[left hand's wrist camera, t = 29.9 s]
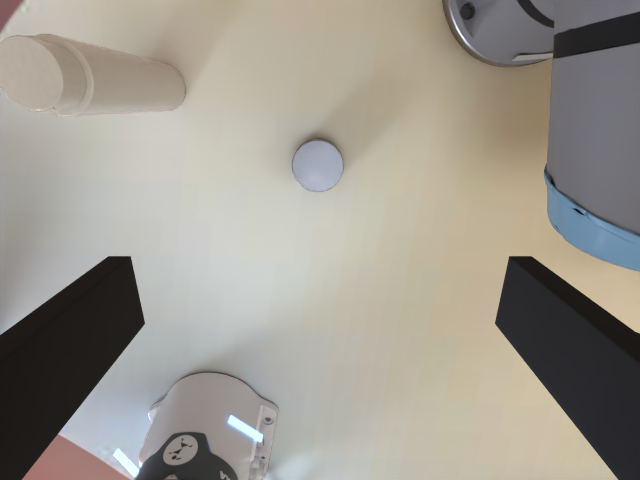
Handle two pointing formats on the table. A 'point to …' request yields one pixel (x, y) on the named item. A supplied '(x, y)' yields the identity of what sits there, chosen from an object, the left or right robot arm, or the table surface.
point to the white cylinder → (84, 78)
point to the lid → (317, 165)
